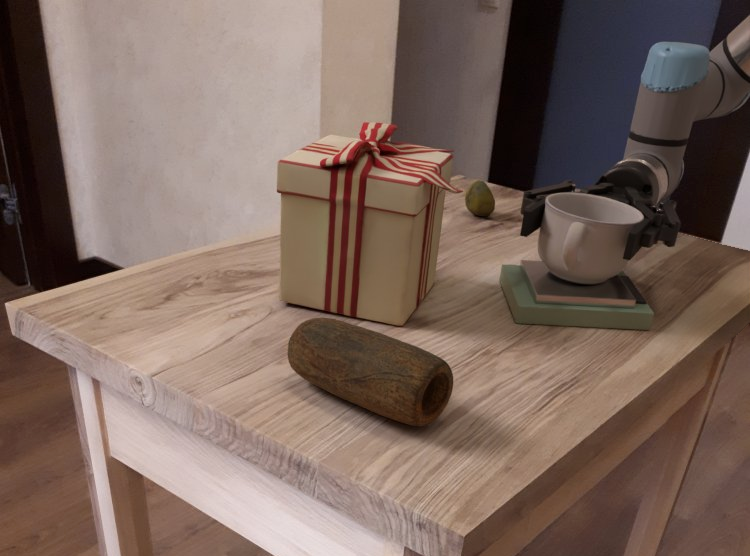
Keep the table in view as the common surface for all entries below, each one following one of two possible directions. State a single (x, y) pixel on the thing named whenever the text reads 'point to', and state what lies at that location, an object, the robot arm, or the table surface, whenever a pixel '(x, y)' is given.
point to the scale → (572, 307)
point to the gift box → (361, 223)
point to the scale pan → (574, 289)
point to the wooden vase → (371, 370)
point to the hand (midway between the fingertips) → (576, 235)
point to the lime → (480, 199)
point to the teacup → (585, 236)
